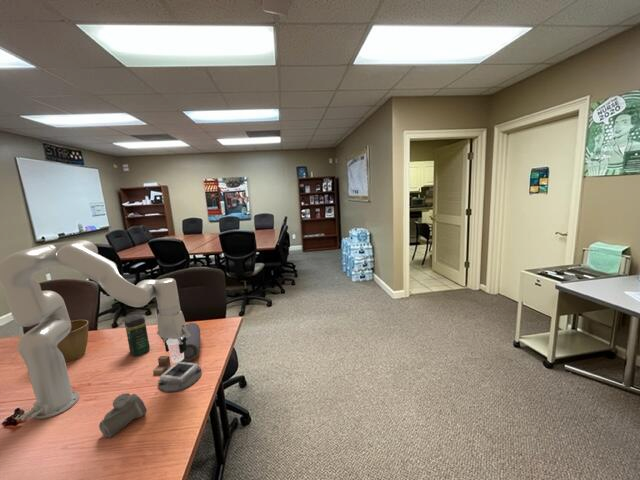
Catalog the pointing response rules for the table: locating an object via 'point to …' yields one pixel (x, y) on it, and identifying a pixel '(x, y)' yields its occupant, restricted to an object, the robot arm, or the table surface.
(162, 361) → the walnut bracket
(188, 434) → the table surface
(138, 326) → the coffee jar
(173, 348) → the beverage cup
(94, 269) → the robot arm
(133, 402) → the pipe fitting
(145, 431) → the table surface
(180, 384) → the gray windowed housing
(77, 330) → the plant pot
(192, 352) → the bluetooth speaker
